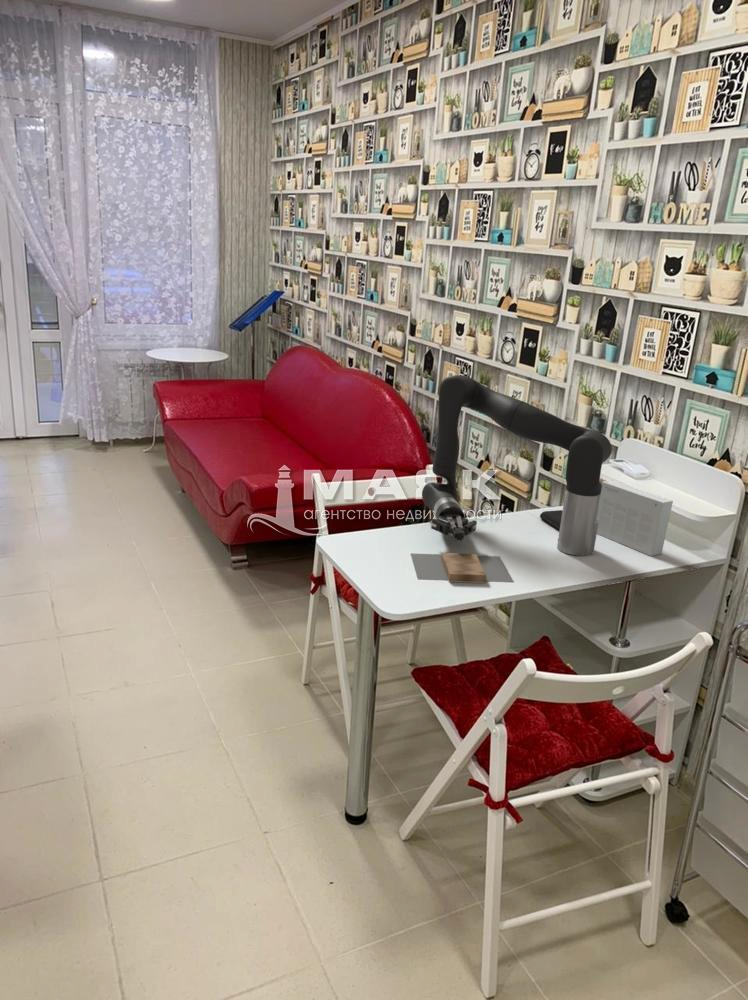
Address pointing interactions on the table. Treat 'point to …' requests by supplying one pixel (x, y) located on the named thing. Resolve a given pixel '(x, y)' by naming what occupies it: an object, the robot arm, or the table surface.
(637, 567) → the table surface
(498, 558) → the charcoal mat
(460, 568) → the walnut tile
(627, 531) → the skincare box
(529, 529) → the table surface
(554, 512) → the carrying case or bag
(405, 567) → the table surface
